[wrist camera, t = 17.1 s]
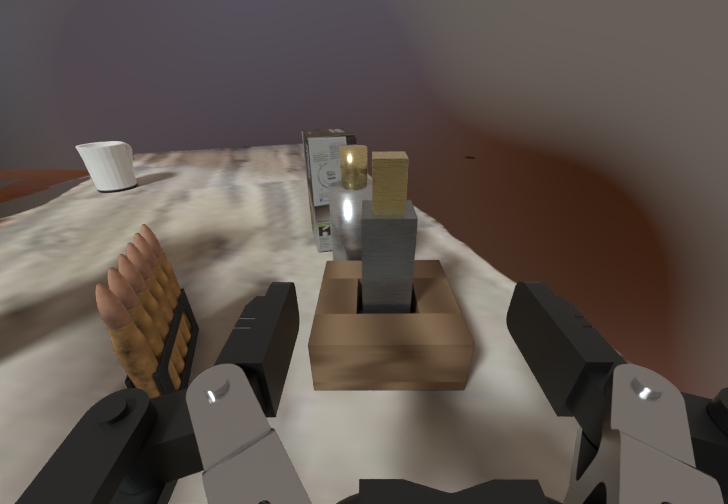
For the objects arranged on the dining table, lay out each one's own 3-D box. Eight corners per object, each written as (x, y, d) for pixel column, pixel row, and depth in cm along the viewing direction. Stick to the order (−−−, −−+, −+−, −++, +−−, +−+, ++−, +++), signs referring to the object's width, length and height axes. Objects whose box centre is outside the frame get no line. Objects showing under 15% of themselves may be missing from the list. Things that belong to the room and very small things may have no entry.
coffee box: (360, 247, 46) (357, 134, 38) (317, 253, 44) (306, 136, 36) (347, 224, 53) (343, 126, 46) (311, 228, 52) (300, 128, 44)
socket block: (314, 390, 24) (307, 345, 22) (329, 298, 35) (326, 260, 32) (464, 390, 24) (474, 344, 22) (434, 297, 35) (438, 260, 32)
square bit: (363, 342, 27) (360, 161, 19) (364, 313, 31) (361, 150, 23) (407, 342, 27) (422, 160, 19) (403, 313, 31) (414, 149, 23)
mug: (113, 194, 70) (93, 148, 65) (86, 191, 72) (65, 146, 67) (155, 182, 79) (140, 140, 74) (130, 179, 81) (115, 139, 76)
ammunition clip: (178, 331, 30) (133, 221, 24) (199, 327, 31) (159, 218, 25) (151, 433, 21) (69, 297, 16) (180, 424, 22) (111, 290, 16)
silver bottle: (332, 292, 36) (322, 152, 28) (336, 267, 41) (328, 142, 33) (379, 291, 36) (382, 152, 28) (378, 267, 41) (379, 142, 33)
